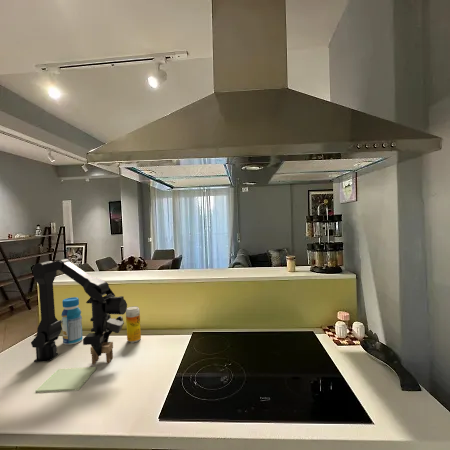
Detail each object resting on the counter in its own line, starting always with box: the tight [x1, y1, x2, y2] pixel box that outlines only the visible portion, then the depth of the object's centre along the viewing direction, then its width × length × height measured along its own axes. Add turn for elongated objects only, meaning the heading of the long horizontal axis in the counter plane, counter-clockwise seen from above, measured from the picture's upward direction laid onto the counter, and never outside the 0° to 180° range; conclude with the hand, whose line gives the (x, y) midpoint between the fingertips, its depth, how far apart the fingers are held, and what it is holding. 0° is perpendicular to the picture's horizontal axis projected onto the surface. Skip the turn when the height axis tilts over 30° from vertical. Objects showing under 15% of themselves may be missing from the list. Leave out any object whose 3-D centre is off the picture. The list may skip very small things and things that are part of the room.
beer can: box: [125, 306, 142, 344], centre depth 137 cm, size 6×6×15 cm
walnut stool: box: [90, 341, 114, 365], centre depth 118 cm, size 7×4×6 cm, turn 91°
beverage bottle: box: [61, 296, 84, 346], centre depth 138 cm, size 8×8×20 cm
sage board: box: [35, 366, 97, 393], centre depth 105 cm, size 14×14×1 cm
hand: (102, 352), depth 118 cm, fingers closed on walnut stool, 4 cm apart
